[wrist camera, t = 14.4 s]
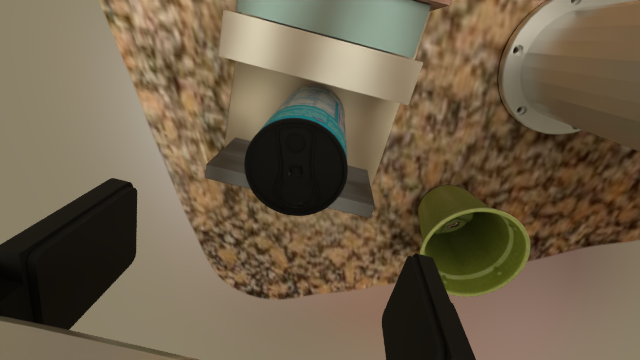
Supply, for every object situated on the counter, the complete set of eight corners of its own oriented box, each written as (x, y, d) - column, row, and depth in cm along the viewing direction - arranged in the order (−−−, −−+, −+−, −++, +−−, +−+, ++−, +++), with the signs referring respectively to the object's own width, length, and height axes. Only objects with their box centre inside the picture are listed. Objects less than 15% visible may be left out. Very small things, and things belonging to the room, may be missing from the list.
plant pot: (502, 221, 37) (546, 271, 29) (425, 256, 40) (446, 311, 32) (468, 154, 35) (506, 189, 27) (387, 196, 37) (401, 240, 29)
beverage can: (280, 136, 34) (238, 205, 20) (290, 77, 31) (250, 107, 18) (337, 149, 34) (335, 225, 20) (351, 90, 31) (359, 132, 18)
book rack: (439, -24, 28) (494, -59, 18) (362, 205, 38) (371, 267, 27) (257, -75, 28) (210, -140, 18) (223, 171, 37) (180, 222, 27)
